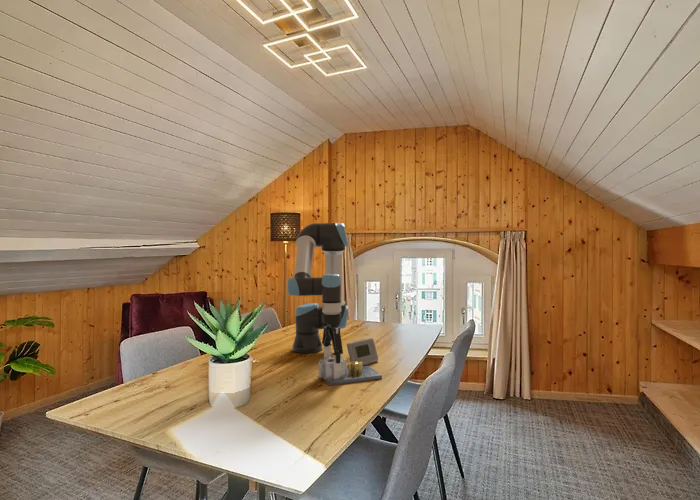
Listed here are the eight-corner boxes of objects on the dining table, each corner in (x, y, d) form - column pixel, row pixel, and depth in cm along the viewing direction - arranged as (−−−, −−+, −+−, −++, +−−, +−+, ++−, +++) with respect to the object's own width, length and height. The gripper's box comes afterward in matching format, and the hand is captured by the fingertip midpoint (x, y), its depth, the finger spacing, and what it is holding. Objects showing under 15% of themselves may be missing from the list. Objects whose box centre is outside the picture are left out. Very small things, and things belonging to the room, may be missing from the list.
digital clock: (352, 369, 184) (352, 344, 184) (341, 364, 191) (341, 340, 191) (383, 363, 192) (382, 339, 192) (371, 358, 200) (371, 336, 200)
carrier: (319, 375, 176) (318, 361, 176) (368, 369, 183) (368, 356, 183) (329, 385, 163) (328, 371, 162) (381, 378, 170) (381, 365, 170)
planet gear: (315, 373, 174) (315, 358, 174) (341, 370, 177) (340, 355, 177) (323, 381, 163) (323, 365, 163) (349, 377, 167) (349, 362, 167)
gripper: (314, 309, 180) (314, 359, 181) (331, 318, 157) (332, 376, 157) (331, 308, 183) (331, 357, 183) (351, 317, 160) (351, 374, 160)
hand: (332, 366), depth 170 cm, fingers open, 12 cm apart
